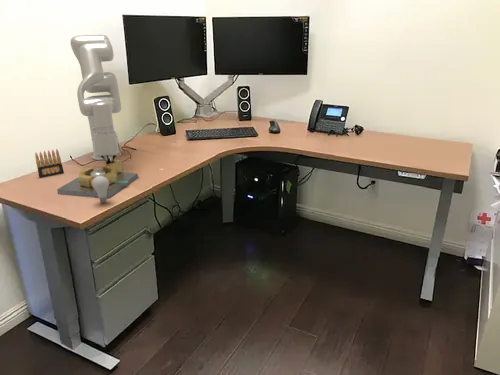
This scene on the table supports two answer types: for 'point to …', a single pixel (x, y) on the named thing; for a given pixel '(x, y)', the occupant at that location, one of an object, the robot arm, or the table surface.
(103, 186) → the lightbulb
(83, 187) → the housing
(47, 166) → the ammunition clip
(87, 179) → the ring nut
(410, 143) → the table surface
